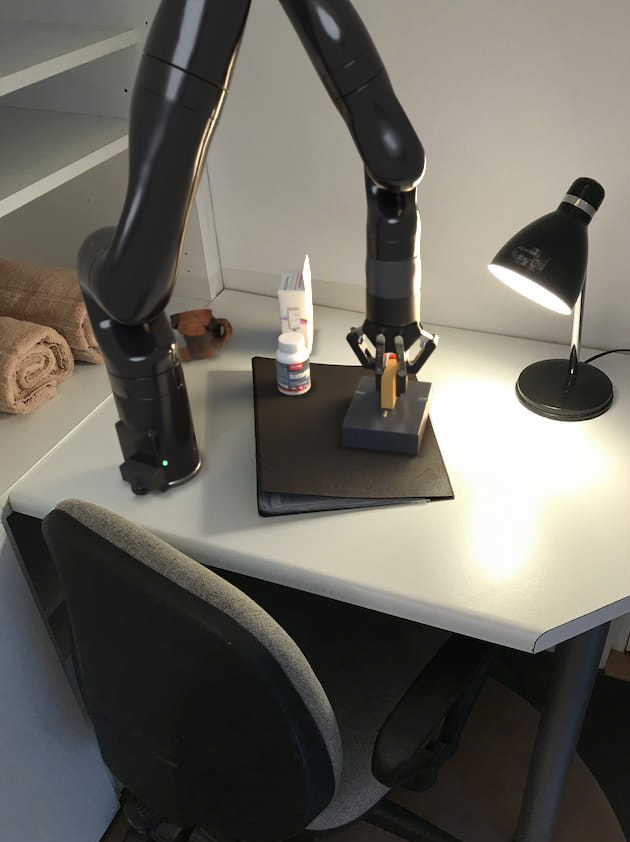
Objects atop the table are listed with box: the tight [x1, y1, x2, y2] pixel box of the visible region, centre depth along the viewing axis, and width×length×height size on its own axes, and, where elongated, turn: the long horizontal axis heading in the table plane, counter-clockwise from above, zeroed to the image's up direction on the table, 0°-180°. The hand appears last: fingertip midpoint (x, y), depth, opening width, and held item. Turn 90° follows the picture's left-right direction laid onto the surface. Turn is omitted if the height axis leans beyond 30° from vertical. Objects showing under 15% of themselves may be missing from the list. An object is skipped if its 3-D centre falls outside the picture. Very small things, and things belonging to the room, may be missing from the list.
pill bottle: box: [274, 332, 311, 396], centre depth 119 cm, size 5×5×9 cm
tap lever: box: [381, 353, 398, 409], centre depth 111 cm, size 7×2×5 cm, turn 168°
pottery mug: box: [169, 308, 234, 362], centre depth 131 cm, size 12×10×8 cm
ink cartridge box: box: [276, 254, 314, 355], centre depth 128 cm, size 9×5×15 cm, turn 179°
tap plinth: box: [341, 375, 433, 455], centre depth 112 cm, size 15×11×4 cm
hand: (391, 393), depth 112 cm, fingers closed on tap lever, 2 cm apart
